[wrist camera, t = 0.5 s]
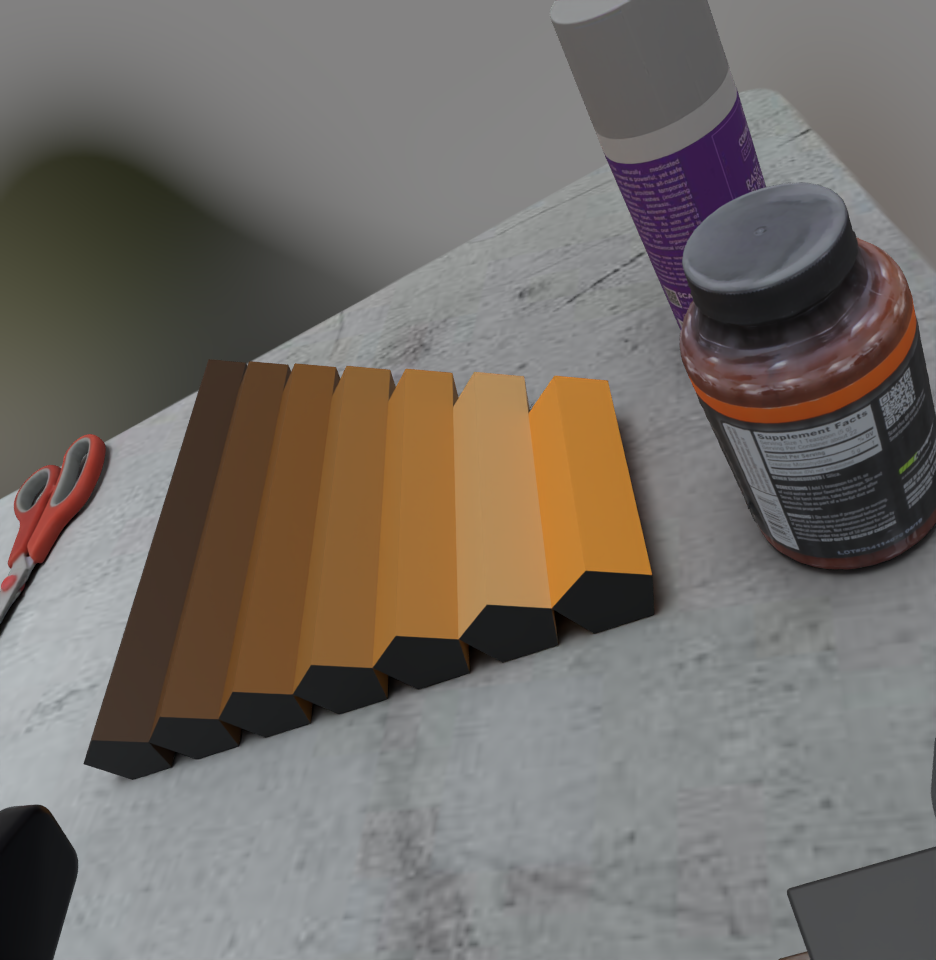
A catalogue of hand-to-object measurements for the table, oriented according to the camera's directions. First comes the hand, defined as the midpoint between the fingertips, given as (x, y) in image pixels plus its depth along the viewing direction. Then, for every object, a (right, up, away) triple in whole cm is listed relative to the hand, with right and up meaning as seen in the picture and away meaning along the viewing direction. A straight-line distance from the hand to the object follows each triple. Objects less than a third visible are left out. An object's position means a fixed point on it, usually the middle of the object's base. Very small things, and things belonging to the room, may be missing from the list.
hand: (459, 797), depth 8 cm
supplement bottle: (+13, +2, +20) cm, 24 cm away
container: (+12, +9, +27) cm, 31 cm away
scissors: (-27, -2, +44) cm, 52 cm away
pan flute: (-4, +3, +33) cm, 34 cm away
